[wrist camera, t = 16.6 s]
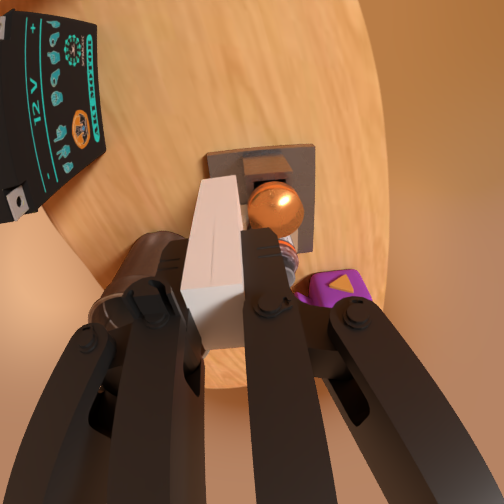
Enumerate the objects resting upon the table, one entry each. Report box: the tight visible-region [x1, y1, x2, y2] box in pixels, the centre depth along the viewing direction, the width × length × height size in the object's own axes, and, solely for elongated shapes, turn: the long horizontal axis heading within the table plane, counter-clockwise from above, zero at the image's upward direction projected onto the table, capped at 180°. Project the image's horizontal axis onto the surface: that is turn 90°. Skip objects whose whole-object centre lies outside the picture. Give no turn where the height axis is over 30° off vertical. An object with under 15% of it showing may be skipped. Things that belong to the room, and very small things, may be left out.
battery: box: [0, 9, 106, 224], centre depth 19 cm, size 19×10×20 cm, turn 0°
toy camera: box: [294, 269, 372, 308], centre depth 47 cm, size 11×14×10 cm
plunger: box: [247, 180, 304, 239], centre depth 28 cm, size 5×5×7 cm
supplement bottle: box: [247, 222, 299, 287], centre depth 36 cm, size 6×6×11 cm
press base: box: [207, 144, 315, 254], centre depth 36 cm, size 17×14×9 cm
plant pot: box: [88, 231, 210, 359], centre depth 38 cm, size 16×16×16 cm
